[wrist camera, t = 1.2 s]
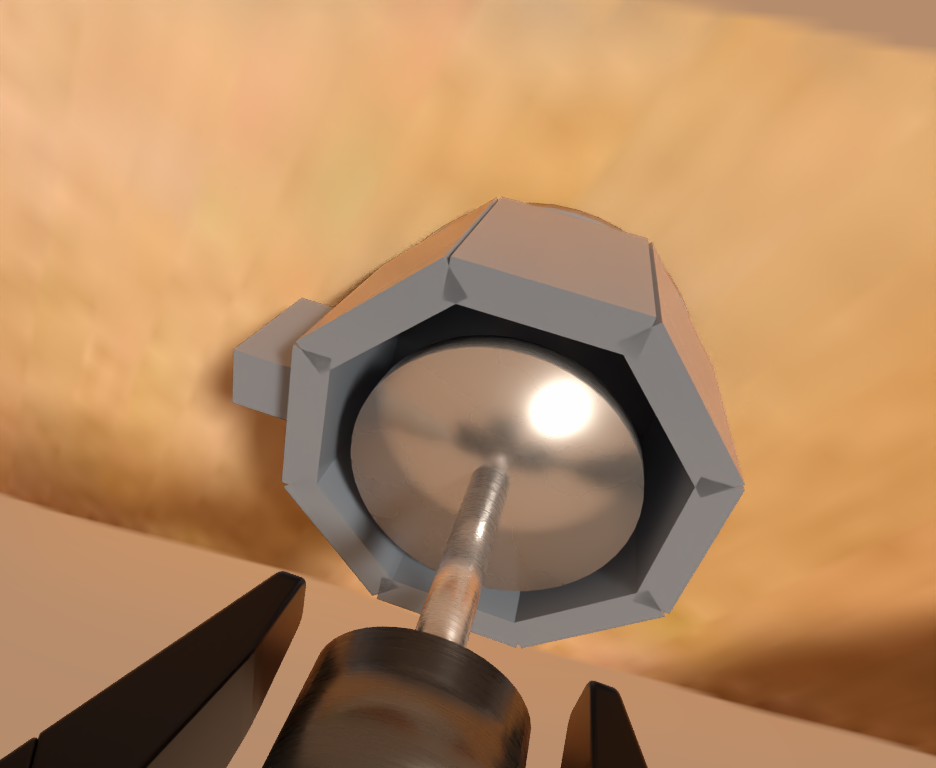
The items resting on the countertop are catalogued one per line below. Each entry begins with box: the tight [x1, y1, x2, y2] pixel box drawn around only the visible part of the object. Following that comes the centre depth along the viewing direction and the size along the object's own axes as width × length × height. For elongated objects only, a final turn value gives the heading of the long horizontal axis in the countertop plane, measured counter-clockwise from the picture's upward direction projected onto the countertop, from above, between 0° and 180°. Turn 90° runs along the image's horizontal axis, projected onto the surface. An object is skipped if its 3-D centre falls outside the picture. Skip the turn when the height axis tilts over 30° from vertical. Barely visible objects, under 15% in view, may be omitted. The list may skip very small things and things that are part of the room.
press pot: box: [233, 197, 745, 648], centre depth 15 cm, size 10×9×6 cm
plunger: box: [262, 335, 644, 768], centre depth 10 cm, size 6×6×8 cm
